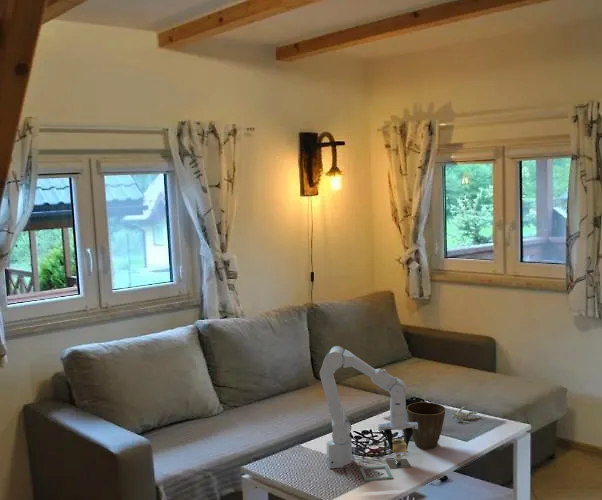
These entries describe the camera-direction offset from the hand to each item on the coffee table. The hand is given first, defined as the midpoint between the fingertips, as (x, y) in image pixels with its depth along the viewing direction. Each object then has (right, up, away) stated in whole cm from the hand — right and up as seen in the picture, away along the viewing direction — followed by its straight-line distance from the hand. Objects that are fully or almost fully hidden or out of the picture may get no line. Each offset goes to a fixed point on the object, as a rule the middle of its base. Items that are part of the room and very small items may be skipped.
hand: (398, 448), depth 262 cm
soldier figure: (+36, -1, +46) cm, 58 cm away
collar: (0, -1, 0) cm, 1 cm away
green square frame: (-9, -8, -7) cm, 14 cm away
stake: (0, -7, +1) cm, 7 cm away
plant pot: (+13, -5, +17) cm, 22 cm away
